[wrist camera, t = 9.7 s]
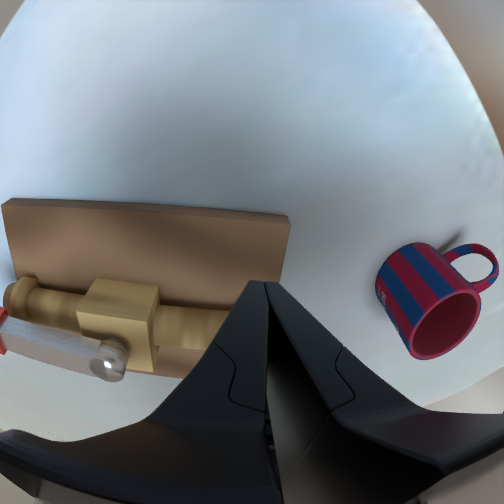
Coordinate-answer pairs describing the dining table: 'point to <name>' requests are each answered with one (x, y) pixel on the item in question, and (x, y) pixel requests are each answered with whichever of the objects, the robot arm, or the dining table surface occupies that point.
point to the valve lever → (63, 348)
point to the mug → (431, 297)
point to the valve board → (137, 272)
